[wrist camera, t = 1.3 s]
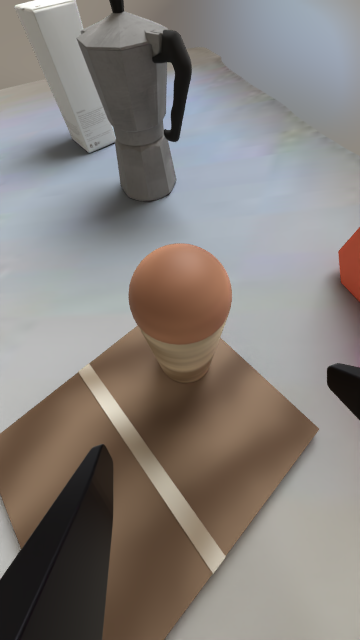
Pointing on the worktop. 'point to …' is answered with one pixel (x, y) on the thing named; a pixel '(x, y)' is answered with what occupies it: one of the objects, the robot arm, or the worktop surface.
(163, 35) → the coffeepot
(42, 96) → the worktop surface
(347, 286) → the french fries container
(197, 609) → the worktop surface
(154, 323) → the wooden pin
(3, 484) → the walnut board
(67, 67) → the skincare box
